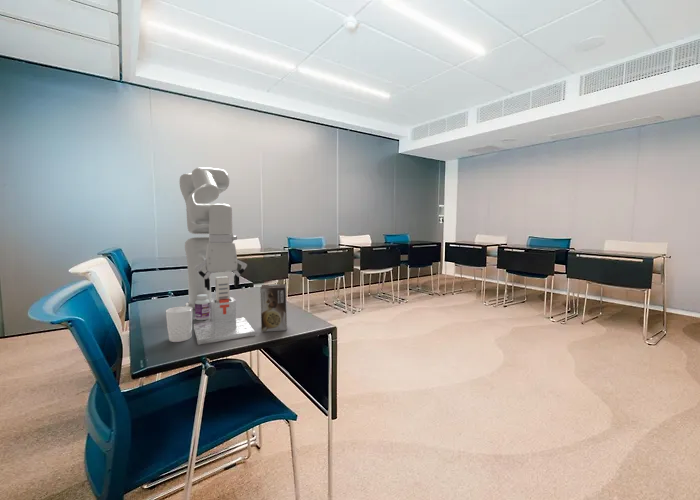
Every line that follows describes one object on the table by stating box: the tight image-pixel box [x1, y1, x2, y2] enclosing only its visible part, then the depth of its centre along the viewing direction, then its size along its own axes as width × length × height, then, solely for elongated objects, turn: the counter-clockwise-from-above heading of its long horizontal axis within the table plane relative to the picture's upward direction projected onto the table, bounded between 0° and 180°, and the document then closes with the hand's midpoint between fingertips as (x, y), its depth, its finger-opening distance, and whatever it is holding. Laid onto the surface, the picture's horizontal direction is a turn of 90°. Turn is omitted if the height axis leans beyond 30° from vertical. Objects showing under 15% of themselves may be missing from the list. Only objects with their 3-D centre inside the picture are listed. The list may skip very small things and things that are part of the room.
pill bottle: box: [194, 294, 210, 321], centre depth 129 cm, size 5×5×10 cm
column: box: [214, 275, 231, 303], centre depth 113 cm, size 5×4×18 cm
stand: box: [193, 296, 256, 346], centre depth 114 cm, size 18×18×12 cm
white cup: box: [165, 305, 194, 343], centre depth 107 cm, size 8×8×10 cm
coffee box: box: [259, 283, 288, 333], centre depth 118 cm, size 9×6×16 cm
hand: (222, 288), depth 113 cm, fingers open, 8 cm apart
